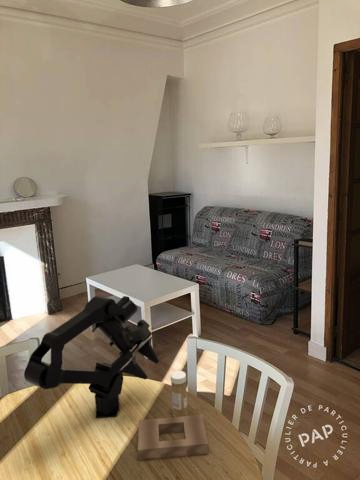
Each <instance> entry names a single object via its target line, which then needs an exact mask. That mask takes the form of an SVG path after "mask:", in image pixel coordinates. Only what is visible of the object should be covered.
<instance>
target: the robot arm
mask: <svg viewBox="0 0 360 480" xmlns="http://www.w3.org/2000/svg"><path fill="white" fill-rule="evenodd" d="M137 312H138V306H137V305H136V304H135V302H134V301H132V299H130V297H129V296H127V295H126V296H125V295H123V296H122V298H121V299H119V300H118V301H117V303H116V301H115V300H114V298H110V297H105V296H102V295H95V296H93V297H92V298H91V299H89V301H87V303H86V304H85V306H84V308H83V309H82V310H81V311H80V312H78V313H77V314H76V315H74V316H72V317H71V318H70V319H68V320H66V321H65V322H64V323H62V324H61V325H59V326H57V327H56V328H54V329H53V330H52V331H50V332H46V333H45V334H44V335H43V337H42V338H41V341H40V344H39V345H38V346H37V347H36V348H35V350H33V352H32V353H31V354H30V357H29V360H28V362H27V364H26V367H25V370H24V374H23V375H24V380H25V381H26V382H27V383H30V384H32V385H34V386H36V387H38V388H40V389H43V390H49V389H54V388H55V389H56V388H57V387H59V386H60V385H62V384H73V385H74V384H75V385H78V384H79V385H80V384H82V385H89V386H88V390H89V392H90V393H92V394H94V400H95V401H94V402H95V410H96V411H95V419H97V418H98V419H101V418H109V417H111V418H112V417H113V418H114V417H118V413H119V411H120V406H121V405H120V395H121V394H122V390H123V389H122V388H123V384H124V375H123V373H124V374H128V375H132V376H134V377H137V378H140V379H142V380H147V379H148V375H147V374H146V373H145V371H144V370H143V368H142V367H141V366H140V365H139V363H137V357H136V355H133V353H135V352H136V351H137V352H138V353H139V354H141V355H142V356H144V357H145V358H147V359H148V360H150V362H153V363H154V364H156V365H157V364H158V363H159V362H160V361H159V358H158V356H157V355H156V352H155V351H154V348H153V346H152V340H153V337H152V335H153V332H151V330H150V329H149V328H150V324H149V323H148V322H147V321H146V320H144V319H141V320H138V322H136V323H137V324H136V326H134V327H132V328H131V327H130V326H129V325H127V326H126V327H125V326H124V325H125V324H126V323H127V322H128V321H129V320H130V319H131V318H132V317H134V315H135V314H137ZM91 326H92V327H91ZM89 328H91V332H92V333H95V332H96V331H97V330H98V329H99V331H101V332H102V333H103V334H104V335H105V336H104V337H106V338H108V340H109V341H110V342H109V346H110V347H113V345H114V346H115V347H116V349H118V350H119V353H118V355H119V356H117V358H116V359H114V361H113V362H112V363H111V364H109V363H107V362H95V363H96V364H95V367H93V368H89V367H88V368H85V367H69V366H63V350H64V348H65V345H67V344H68V343H70V342H71V341H72V340H74V339H75V338H77V337H78V336H79V335H80V334H82V333H84V332H85V331H86V330H87V329H89ZM49 351H50V363H49V362H45V361H43V358H44V357H45V356H46V354H48V352H49Z"/></svg>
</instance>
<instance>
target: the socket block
mask: <svg viewBox="0 0 360 480" xmlns="http://www.w3.org/2000/svg"><path fill="white" fill-rule="evenodd" d="M203 418H204V417H203V414H197V415H196V414H195V415H187V416H183V417H174V416H173V417H172V416H171V417H161V418H152V419H151V418H150V419H140V420H139V419H138V431H137V432H138V433H137V434H138V436H137V441H138V442H137V456H138V457H137V458H138V461H145V460H157V459H166V458H167V459H168V458H178V457H189V456H199V455H200V456H201V455H208V454H209V443H208V437H207V432H206V428H205V423H204V419H203ZM182 432H183V434H184V439H183V438H181V439H174V440H171V439H170V440H161V441H160V434H162V435H163V434H171V433H182Z"/></svg>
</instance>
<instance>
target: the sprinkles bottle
mask: <svg viewBox="0 0 360 480" xmlns="http://www.w3.org/2000/svg"><path fill="white" fill-rule="evenodd" d="M170 383H171V402H172V416H173V417H183V416H189V414H188V413H189V412H188V397H187V373H186V372H185V371H182V370H175V371H173V372H172V373H171V374H170Z"/></svg>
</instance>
